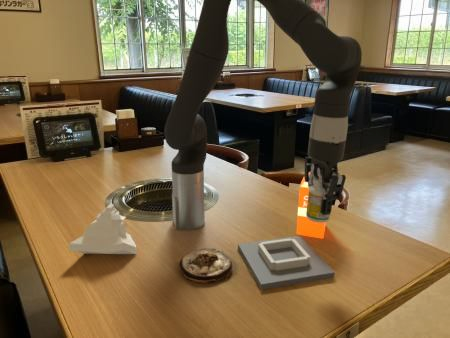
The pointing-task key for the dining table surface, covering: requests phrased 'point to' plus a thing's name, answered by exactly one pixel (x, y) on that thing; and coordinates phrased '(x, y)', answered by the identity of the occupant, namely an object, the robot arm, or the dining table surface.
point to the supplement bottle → (316, 203)
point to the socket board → (284, 262)
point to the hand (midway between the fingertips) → (318, 207)
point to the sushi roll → (205, 266)
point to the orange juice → (303, 223)
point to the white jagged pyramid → (105, 235)
